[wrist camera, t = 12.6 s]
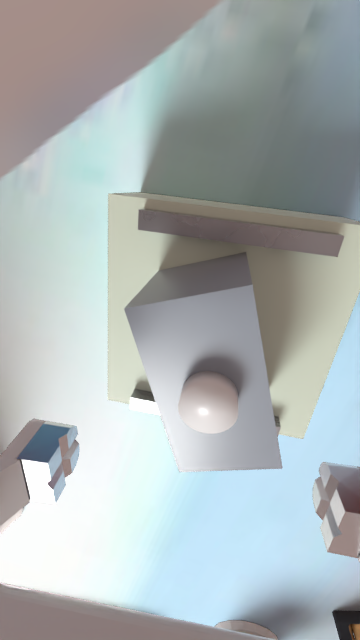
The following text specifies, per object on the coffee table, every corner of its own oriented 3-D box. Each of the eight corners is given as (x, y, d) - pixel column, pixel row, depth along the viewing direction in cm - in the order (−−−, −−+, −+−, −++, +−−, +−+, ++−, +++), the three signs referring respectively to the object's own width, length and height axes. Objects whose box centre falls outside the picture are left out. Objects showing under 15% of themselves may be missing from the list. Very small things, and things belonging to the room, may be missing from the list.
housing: (158, 270, 17) (114, 318, 11) (245, 251, 16) (254, 293, 10) (193, 396, 20) (175, 490, 14) (268, 389, 19) (285, 488, 13)
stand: (132, 357, 27) (102, 408, 21) (140, 192, 21) (100, 193, 15) (288, 386, 26) (306, 450, 19) (342, 217, 20) (393, 230, 13)
